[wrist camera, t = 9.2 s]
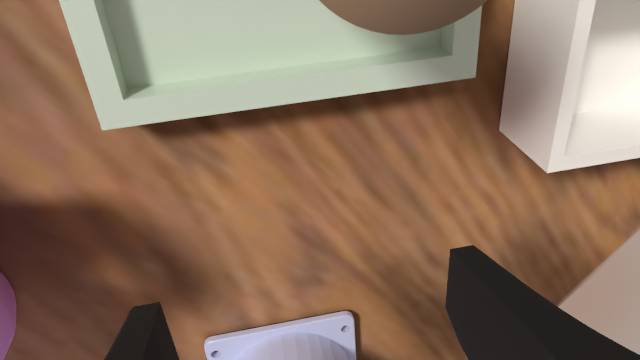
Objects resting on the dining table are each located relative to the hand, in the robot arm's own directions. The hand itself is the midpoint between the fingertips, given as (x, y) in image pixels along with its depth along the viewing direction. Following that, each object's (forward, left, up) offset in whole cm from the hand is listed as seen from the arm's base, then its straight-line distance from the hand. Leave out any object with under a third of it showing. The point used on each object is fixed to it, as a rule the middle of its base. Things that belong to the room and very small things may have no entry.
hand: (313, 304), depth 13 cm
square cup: (+2, -14, -10) cm, 18 cm away
